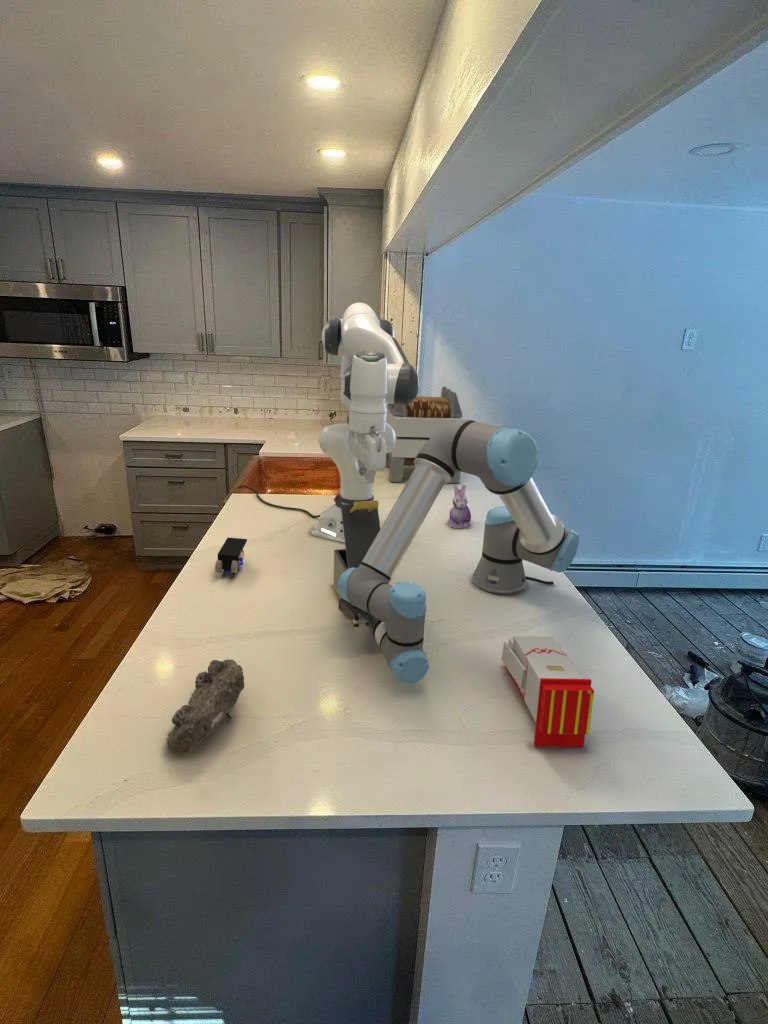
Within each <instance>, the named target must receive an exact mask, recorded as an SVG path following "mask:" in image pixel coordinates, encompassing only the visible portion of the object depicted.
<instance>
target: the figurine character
mask: <svg viewBox="0 0 768 1024" xmlns="http://www.w3.org/2000/svg"><path fill="white" fill-rule="evenodd" d="M247 542H248V538H240V537H226V539H225V541H224V543H223V544H222V546H221V547H220V549H219V551H218V552H217V560H216V562H215V564H214V572H215V573H221V577H222V578H224V577H225V576H226V574H227V573H230V574H231V573H232V574H231V578H234V577H235V575H236V573H237V572H239V571H240V567H242V566H243V565H244V564H245V562H244V558H245V551H244V547H245V546H246V544H247Z"/></svg>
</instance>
